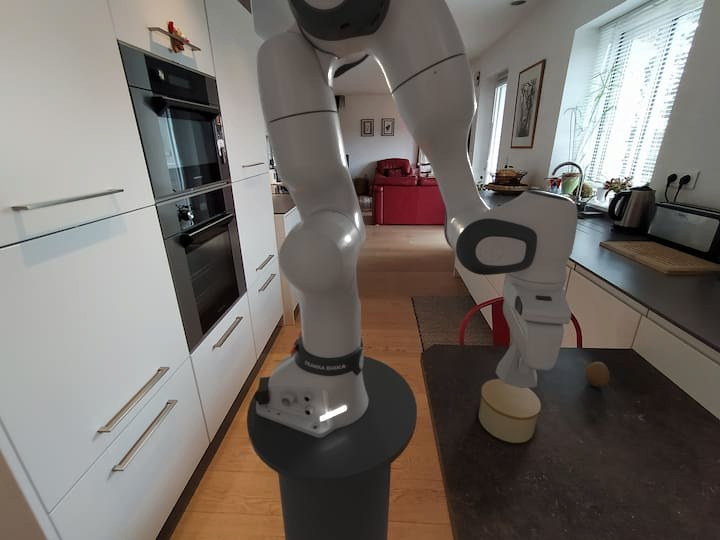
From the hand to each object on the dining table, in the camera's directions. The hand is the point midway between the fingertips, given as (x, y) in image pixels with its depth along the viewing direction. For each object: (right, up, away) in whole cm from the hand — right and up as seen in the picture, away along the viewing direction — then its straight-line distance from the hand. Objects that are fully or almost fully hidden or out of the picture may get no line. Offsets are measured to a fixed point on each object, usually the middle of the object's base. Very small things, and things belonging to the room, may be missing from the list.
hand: (518, 360), depth 59 cm
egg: (+25, -10, +15) cm, 31 cm away
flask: (0, -4, +1) cm, 4 cm away
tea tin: (0, -14, +5) cm, 14 cm away
